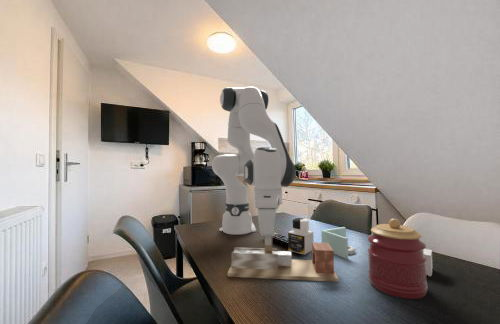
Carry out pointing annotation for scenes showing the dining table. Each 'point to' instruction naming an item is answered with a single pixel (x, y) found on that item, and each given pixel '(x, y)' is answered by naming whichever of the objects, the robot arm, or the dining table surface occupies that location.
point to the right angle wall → (337, 241)
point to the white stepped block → (283, 256)
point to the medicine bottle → (300, 237)
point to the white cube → (428, 261)
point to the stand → (300, 269)
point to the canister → (397, 260)
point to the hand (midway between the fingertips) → (268, 242)
